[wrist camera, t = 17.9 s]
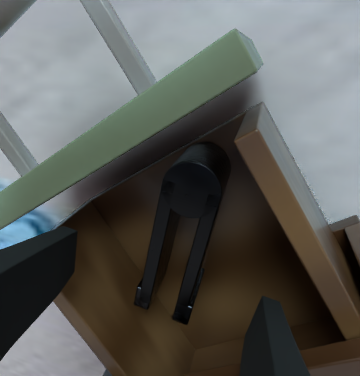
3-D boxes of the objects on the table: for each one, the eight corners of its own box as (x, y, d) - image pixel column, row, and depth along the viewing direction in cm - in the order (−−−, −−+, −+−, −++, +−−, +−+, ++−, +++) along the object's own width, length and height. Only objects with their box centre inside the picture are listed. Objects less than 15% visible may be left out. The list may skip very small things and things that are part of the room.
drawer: (-5, 79, 17) (-138, 91, 12) (180, -99, 12) (103, -227, 7) (186, 349, 21) (156, 454, 16) (385, 299, 16) (445, 428, 11)
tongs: (182, 134, 15) (162, 152, 12) (241, 151, 14) (234, 173, 12) (153, 268, 18) (132, 305, 15) (200, 285, 18) (187, 326, 15)
